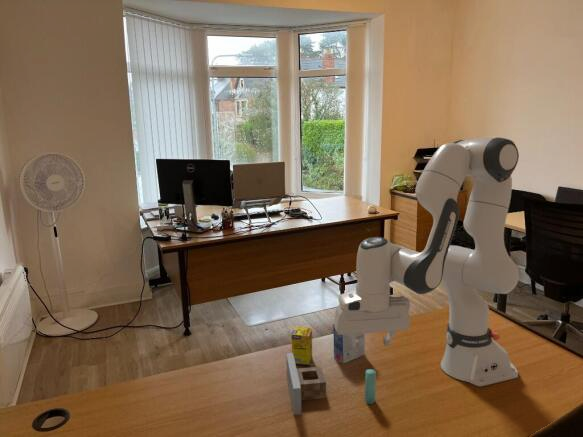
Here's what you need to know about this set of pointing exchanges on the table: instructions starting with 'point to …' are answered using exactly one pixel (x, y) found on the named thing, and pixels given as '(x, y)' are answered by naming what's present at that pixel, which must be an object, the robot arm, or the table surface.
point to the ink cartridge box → (347, 346)
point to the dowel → (370, 386)
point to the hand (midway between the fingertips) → (371, 345)
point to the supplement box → (302, 346)
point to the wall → (293, 384)
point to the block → (312, 383)
